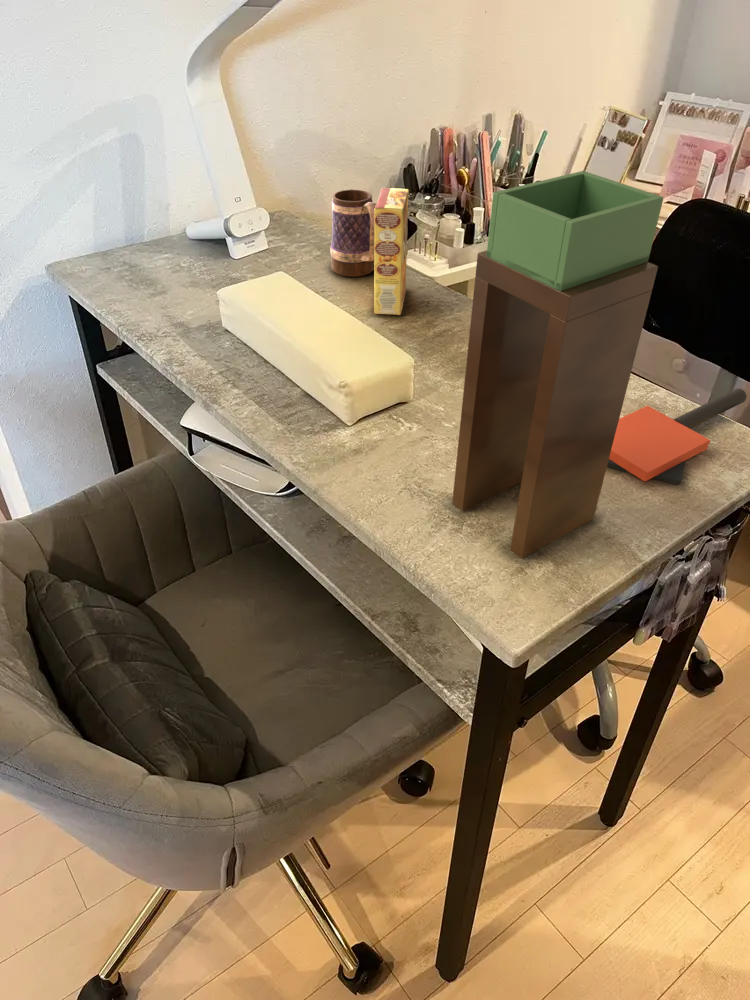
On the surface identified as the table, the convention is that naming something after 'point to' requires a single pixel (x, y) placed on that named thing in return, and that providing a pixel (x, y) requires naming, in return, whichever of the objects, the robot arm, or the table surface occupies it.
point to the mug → (352, 233)
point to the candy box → (390, 250)
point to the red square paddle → (664, 436)
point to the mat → (669, 475)
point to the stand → (546, 393)
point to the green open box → (572, 228)
